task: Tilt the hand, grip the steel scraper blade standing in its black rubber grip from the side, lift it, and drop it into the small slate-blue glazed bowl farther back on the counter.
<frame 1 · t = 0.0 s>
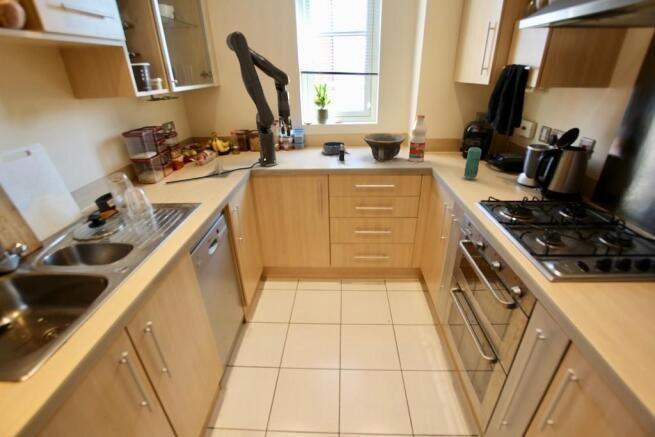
hand: (286, 135, 202), 17 cm above the worktop, tool pointing down, fingers open, 8 cm apart
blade: (341, 160, 210), on the worktop
fruit juice: (416, 160, 205), on the worktop
bowl: (383, 159, 210), on the worktop
beverage bottle: (469, 179, 168), on the worktop
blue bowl: (334, 152, 230), on the worktop
architectural model: (220, 173, 187), on the worktop
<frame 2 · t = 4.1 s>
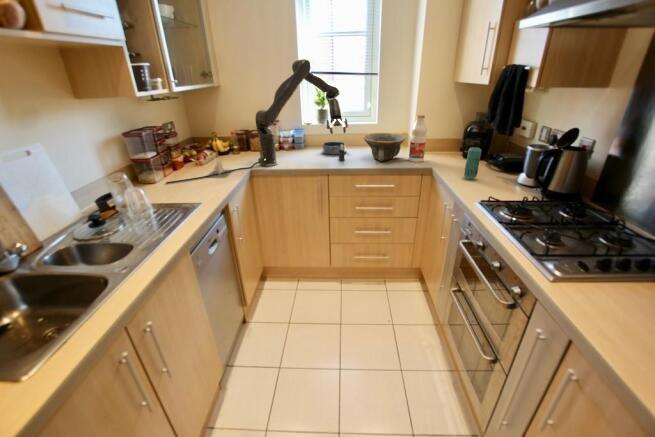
hand: (338, 132, 213), 16 cm above the worktop, tool tilted 45°, fingers open, 8 cm apart
nothing on the worktop moved.
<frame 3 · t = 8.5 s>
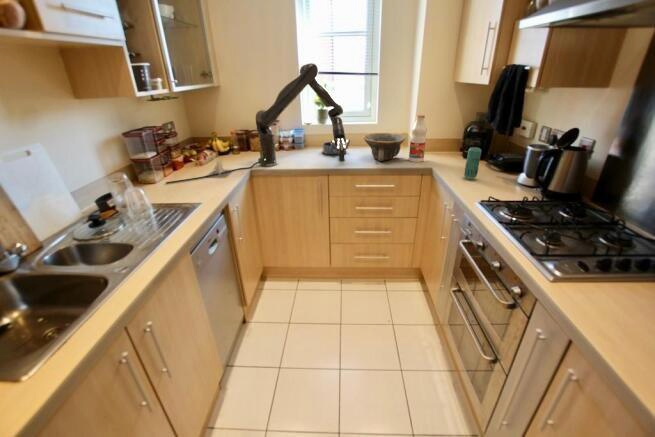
hand: (342, 154, 206), 4 cm above the worktop, tool tilted 45°, fingers closed on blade, 3 cm apart
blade: (341, 160, 210), on the worktop, touching gripper
everything else where it was.
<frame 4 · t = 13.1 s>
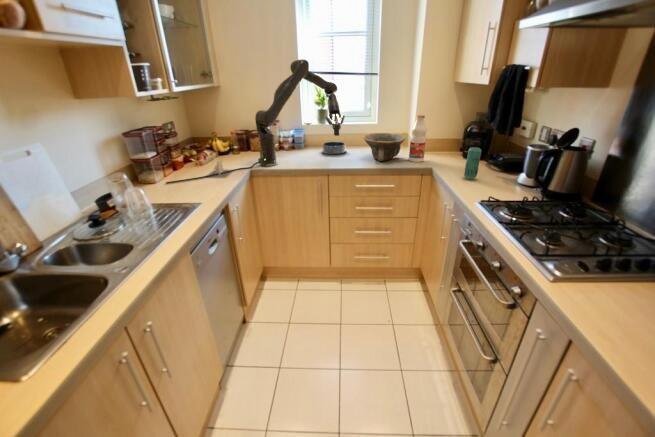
hand: (337, 128, 214), 18 cm above the worktop, tool tilted 45°, fingers closed on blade, 3 cm apart
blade: (336, 135, 218), point 14 cm above the worktop, touching gripper
everything else where it was.
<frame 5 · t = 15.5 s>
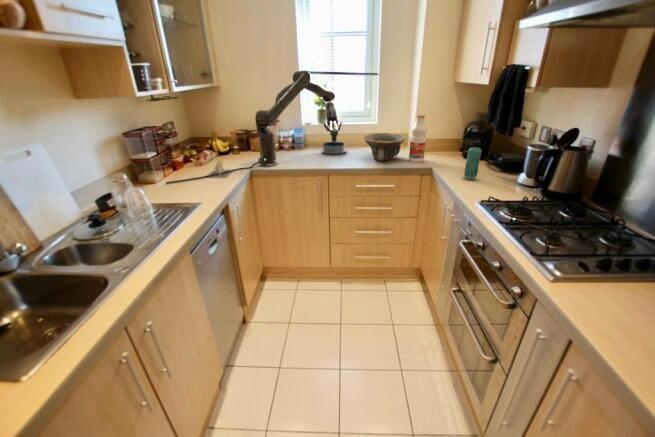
hand: (334, 135, 223), 13 cm above the worktop, tool tilted 45°, fingers closed on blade, 3 cm apart
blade: (334, 141, 227), point 8 cm above the worktop, touching gripper
everything else where it was.
when the fingers open (6 cm above the worktop, at t = 17.6 s): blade drops 1 cm, resting on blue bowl.
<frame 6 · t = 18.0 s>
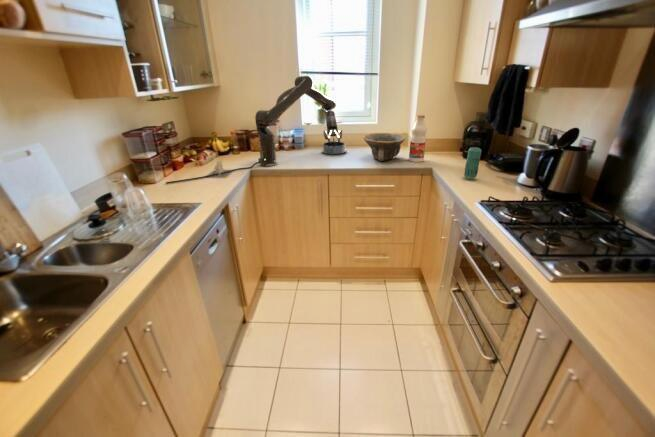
hand: (334, 143, 226), 7 cm above the worktop, tool tilted 45°, fingers open, 6 cm apart
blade: (334, 151, 230), point 1 cm above the worktop, touching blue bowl
everything else where it was.
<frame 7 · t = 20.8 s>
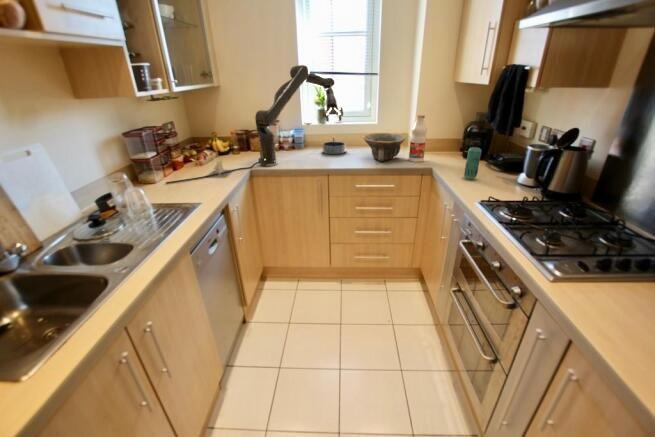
hand: (334, 120, 220), 22 cm above the worktop, tool tilted 45°, fingers open, 8 cm apart
nothing on the worktop moved.
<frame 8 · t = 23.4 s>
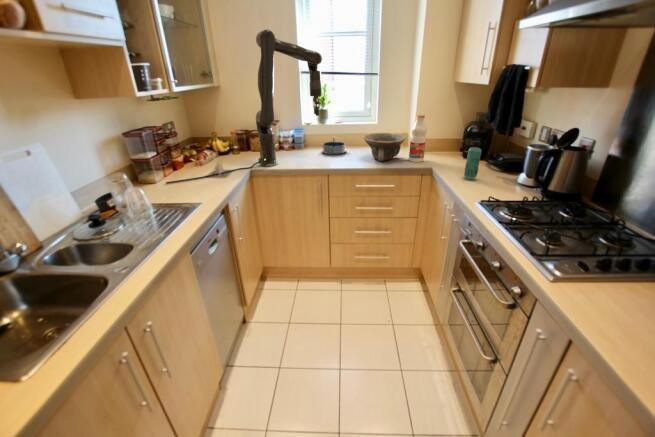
hand: (316, 114, 206), 28 cm above the worktop, tool pointing down, fingers open, 8 cm apart
nothing on the worktop moved.
at the end: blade inside the target area in the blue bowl (0.1 cm from its centre), point 0.6 cm above the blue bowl's base; the gripper is holding nothing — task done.
